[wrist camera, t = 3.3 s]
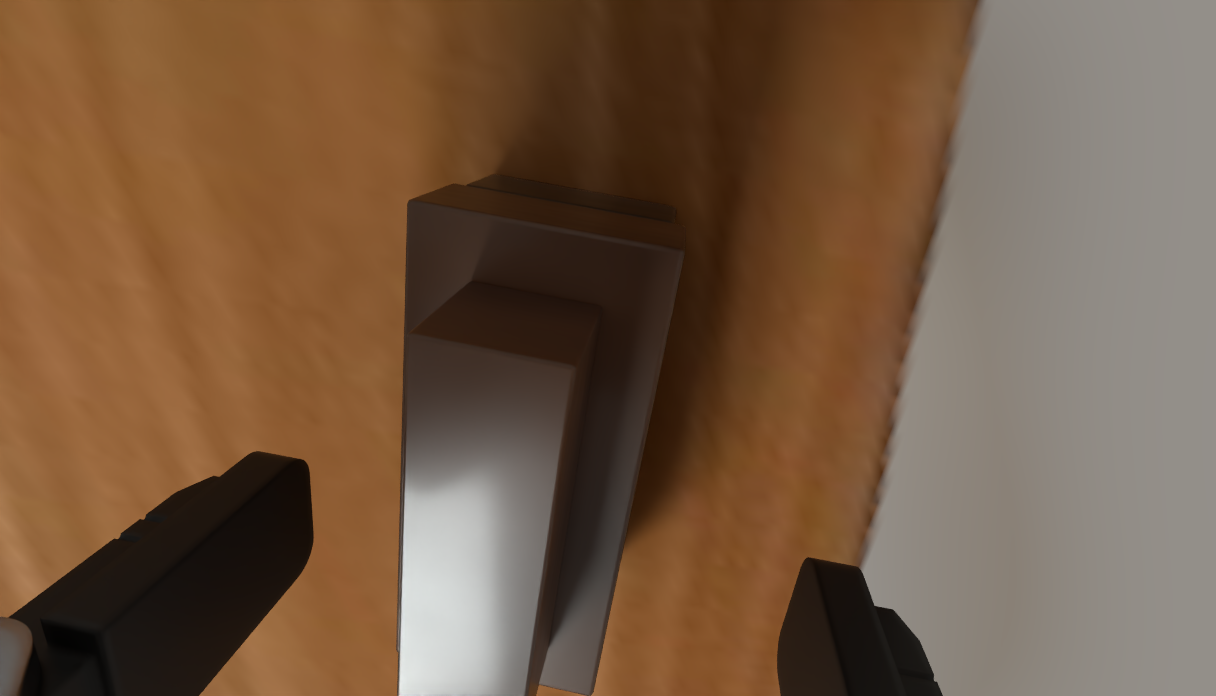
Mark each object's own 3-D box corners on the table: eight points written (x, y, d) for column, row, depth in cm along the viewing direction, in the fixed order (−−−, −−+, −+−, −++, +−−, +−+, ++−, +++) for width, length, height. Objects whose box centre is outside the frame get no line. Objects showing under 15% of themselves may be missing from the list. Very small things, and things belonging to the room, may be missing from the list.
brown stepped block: (481, 171, 12) (317, 230, 7) (688, 208, 12) (683, 299, 6) (455, 540, 15) (336, 764, 10) (612, 573, 15) (571, 820, 10)
